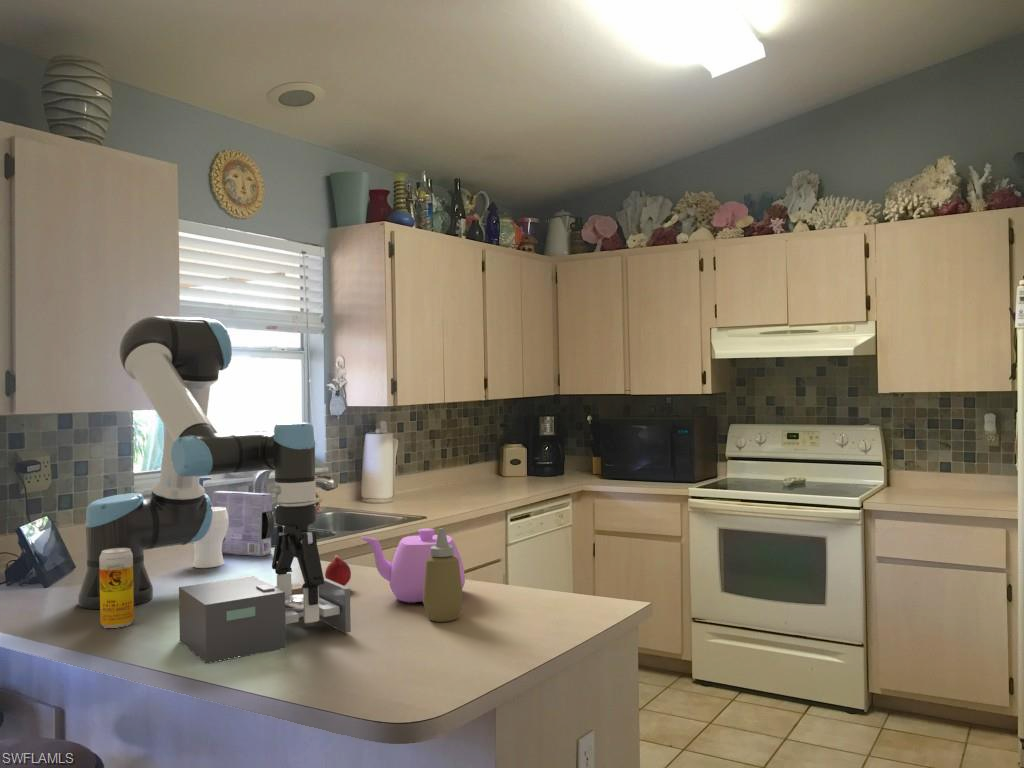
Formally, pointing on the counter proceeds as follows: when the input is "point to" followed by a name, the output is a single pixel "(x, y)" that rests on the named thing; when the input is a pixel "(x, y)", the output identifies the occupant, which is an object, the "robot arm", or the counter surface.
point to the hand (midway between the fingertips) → (297, 614)
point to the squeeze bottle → (442, 582)
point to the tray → (330, 606)
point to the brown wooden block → (296, 589)
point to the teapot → (410, 564)
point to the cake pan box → (246, 522)
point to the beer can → (116, 587)
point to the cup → (212, 541)
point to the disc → (294, 603)
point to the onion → (338, 571)
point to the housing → (232, 618)
